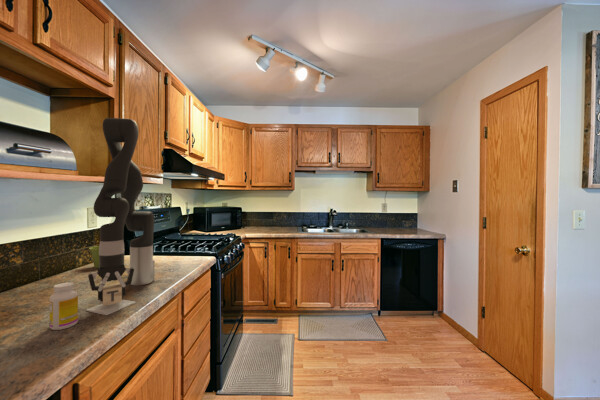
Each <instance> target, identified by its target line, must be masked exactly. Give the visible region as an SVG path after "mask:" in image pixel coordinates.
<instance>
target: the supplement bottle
mask: <svg viewBox="0 0 600 400" xmlns="http://www.w3.org/2000/svg"><path fill="white" fill-rule="evenodd" d="M74 287H75V284H74V282H72V281H71V282H62V283H58V284H55V285H53V291H54V293H53V294H51V295H50V296H49V300H48V301H49V329H51V330H53V331H58V330H65V329H68V328H72V327H73V326H75V325H76V324H77V323H78V322H79V293H78V292H77V290H74Z"/></svg>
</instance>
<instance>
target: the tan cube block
mask: <svg viewBox="0 0 600 400" xmlns="http://www.w3.org/2000/svg"><path fill="white" fill-rule="evenodd" d="M102 290H103V301H101V302H102V303H101V304H103V306H105V305H110V304H115V303H120V302H122V298H123V297H122V286H121V284H120V282H119V283H113V284H107V285H106V284H105V285H104V287H103V289H102Z"/></svg>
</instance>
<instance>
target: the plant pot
mask: <svg viewBox="0 0 600 400" xmlns="http://www.w3.org/2000/svg"><path fill="white" fill-rule="evenodd" d="M88 249H89V250H90V253H91V257H92V262H93V266H94V268H95V269H99V245H97V246H91V247H89V248H88Z"/></svg>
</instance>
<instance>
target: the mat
mask: <svg viewBox="0 0 600 400" xmlns="http://www.w3.org/2000/svg"><path fill="white" fill-rule="evenodd" d="M136 303H137V302H136V301H133V300H128V299H122V302H120V303H115V304H110V305H105V306H103V303H101V304H98V305H94V306H92V307H90V308H86V309H85V311H86V312H90V313H95V314H99V315H104V316H108V315H111V314H113V313H115V312H118V311H120V310H123V309H125V308H127V307H128V308H129V306H133V305H134V304H136Z"/></svg>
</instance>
